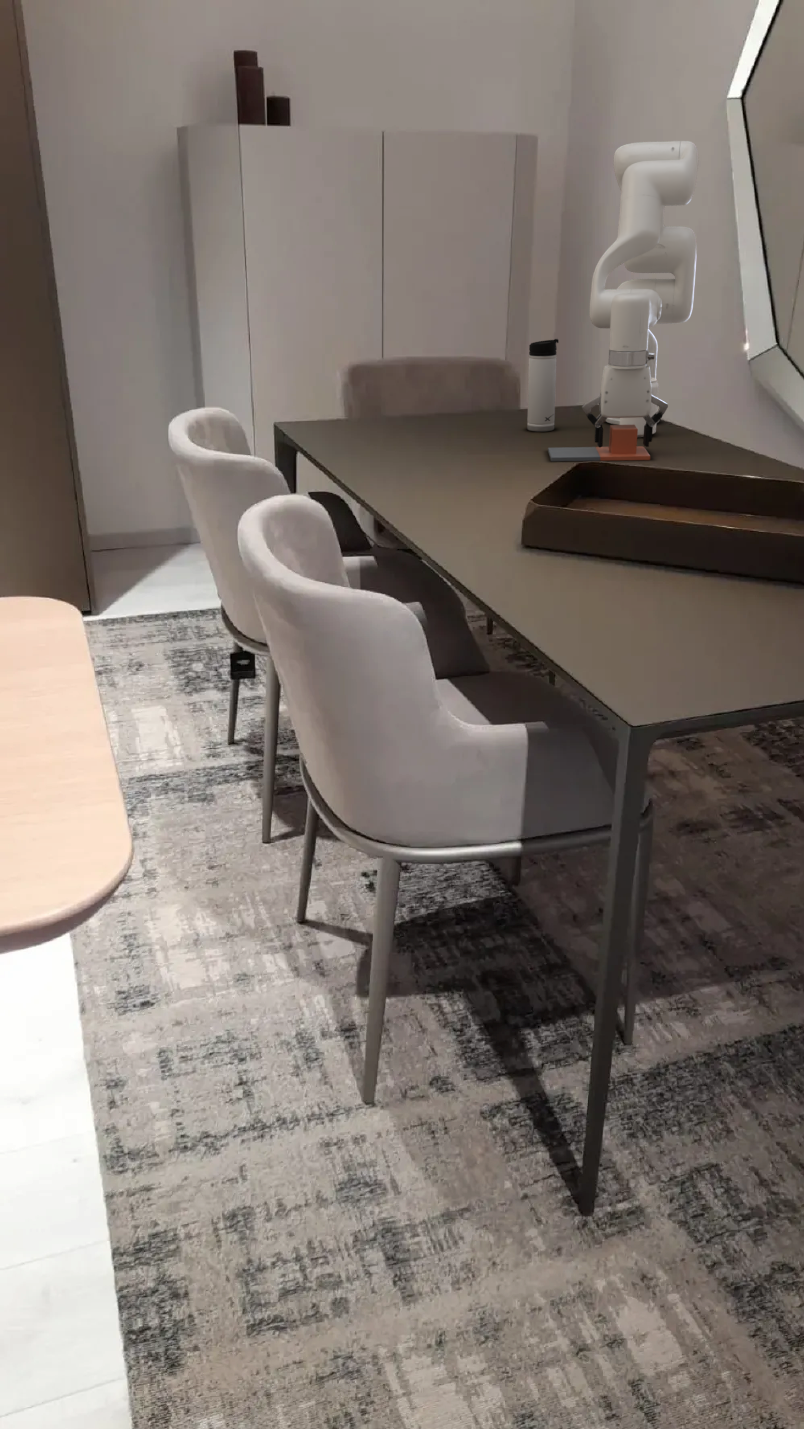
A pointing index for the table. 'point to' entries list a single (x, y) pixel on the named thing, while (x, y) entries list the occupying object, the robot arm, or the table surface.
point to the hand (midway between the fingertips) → (622, 445)
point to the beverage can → (640, 421)
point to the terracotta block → (623, 439)
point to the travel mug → (542, 385)
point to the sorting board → (594, 454)
